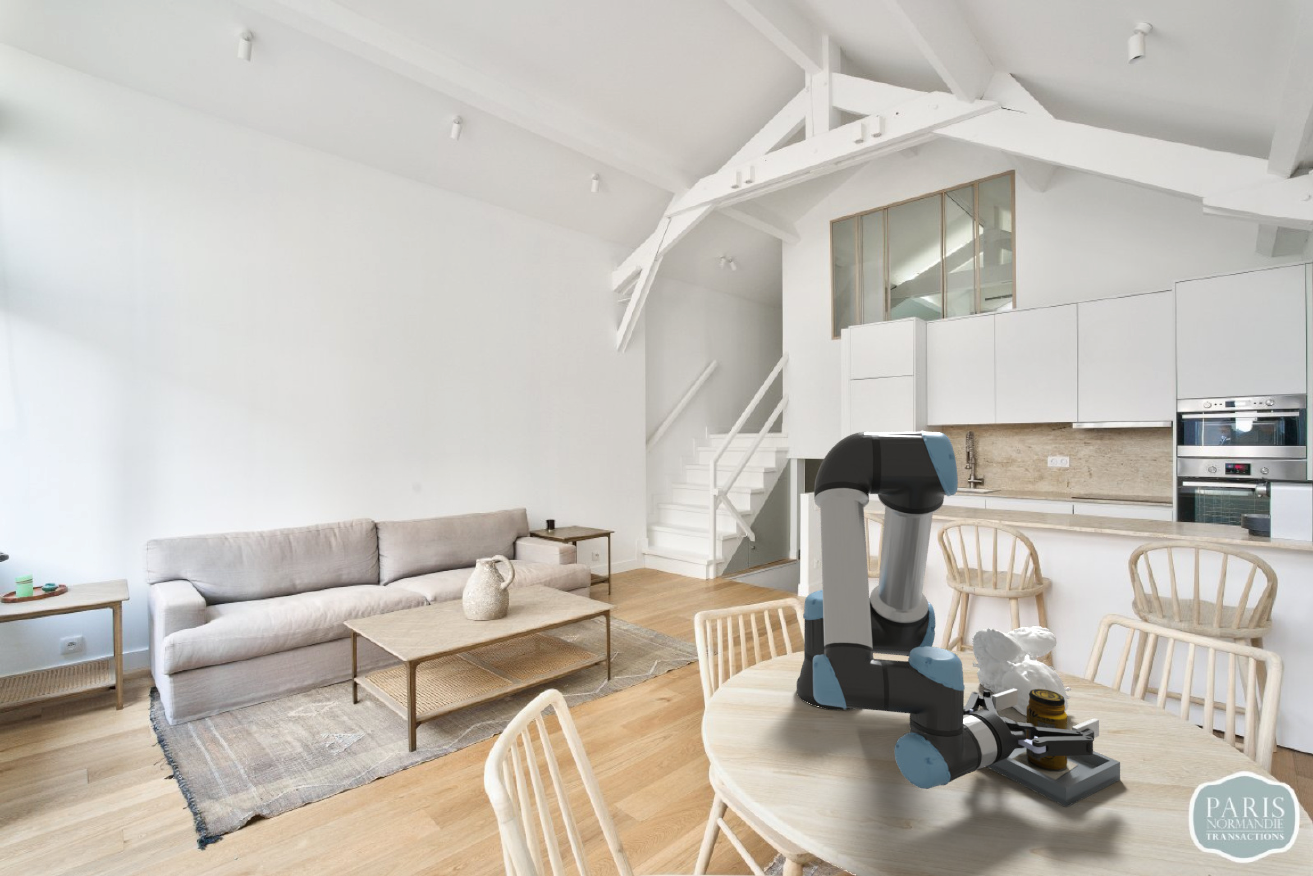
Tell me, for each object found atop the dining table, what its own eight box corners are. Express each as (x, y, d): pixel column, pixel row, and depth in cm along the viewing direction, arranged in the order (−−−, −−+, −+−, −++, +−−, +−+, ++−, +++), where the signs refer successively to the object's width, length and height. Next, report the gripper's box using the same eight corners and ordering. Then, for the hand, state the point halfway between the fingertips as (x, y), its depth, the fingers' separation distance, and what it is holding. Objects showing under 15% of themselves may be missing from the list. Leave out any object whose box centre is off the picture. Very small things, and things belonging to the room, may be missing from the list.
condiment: (1077, 765, 105) (1077, 696, 105) (1055, 781, 101) (1054, 709, 100) (1032, 747, 111) (1032, 682, 111) (1009, 761, 107) (1009, 693, 107)
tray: (971, 759, 109) (971, 742, 109) (1025, 738, 117) (1025, 722, 117) (1065, 807, 95) (1065, 788, 95) (1120, 779, 103) (1120, 762, 103)
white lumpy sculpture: (1060, 691, 116) (981, 613, 132) (1005, 754, 126) (937, 674, 141) (1117, 679, 125) (1036, 606, 140) (1061, 739, 134) (991, 665, 149)
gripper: (912, 729, 109) (987, 704, 118) (1059, 804, 86) (1136, 765, 96) (911, 687, 109) (986, 666, 118) (1058, 751, 86) (1136, 718, 96)
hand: (1054, 710), depth 107 cm, fingers open, 13 cm apart
